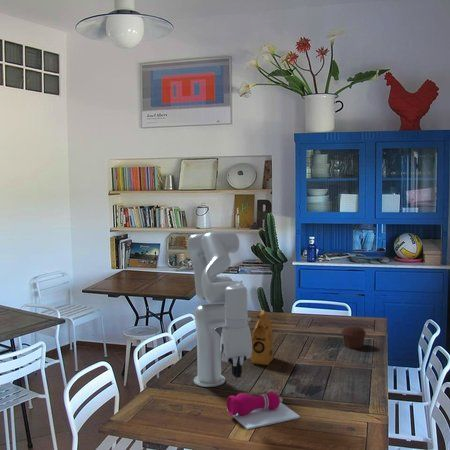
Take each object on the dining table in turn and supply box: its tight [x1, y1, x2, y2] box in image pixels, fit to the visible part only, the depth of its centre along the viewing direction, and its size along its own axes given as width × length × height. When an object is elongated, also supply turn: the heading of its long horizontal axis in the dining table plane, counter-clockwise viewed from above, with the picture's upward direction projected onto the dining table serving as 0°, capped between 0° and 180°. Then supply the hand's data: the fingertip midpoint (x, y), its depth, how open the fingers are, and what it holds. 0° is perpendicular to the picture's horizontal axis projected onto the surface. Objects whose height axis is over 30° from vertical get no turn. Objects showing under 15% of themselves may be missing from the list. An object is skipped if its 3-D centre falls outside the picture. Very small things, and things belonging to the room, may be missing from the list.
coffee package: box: [250, 309, 274, 366], centre depth 236 cm, size 10×12×22 cm
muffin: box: [340, 324, 366, 350], centre depth 256 cm, size 12×11×10 cm
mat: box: [226, 402, 301, 430], centre depth 182 cm, size 16×20×1 cm
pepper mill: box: [226, 391, 283, 416], centre depth 182 cm, size 7×7×20 cm
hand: (236, 376), depth 176 cm, fingers closed
